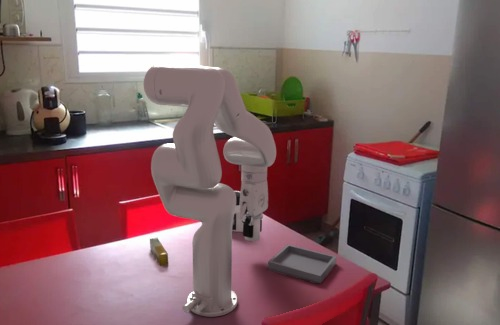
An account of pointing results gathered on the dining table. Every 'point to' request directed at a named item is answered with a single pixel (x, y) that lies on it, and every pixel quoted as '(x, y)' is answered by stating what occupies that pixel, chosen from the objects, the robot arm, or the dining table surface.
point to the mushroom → (255, 228)
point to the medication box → (159, 251)
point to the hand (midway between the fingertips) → (252, 233)
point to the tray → (302, 263)
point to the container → (237, 215)
